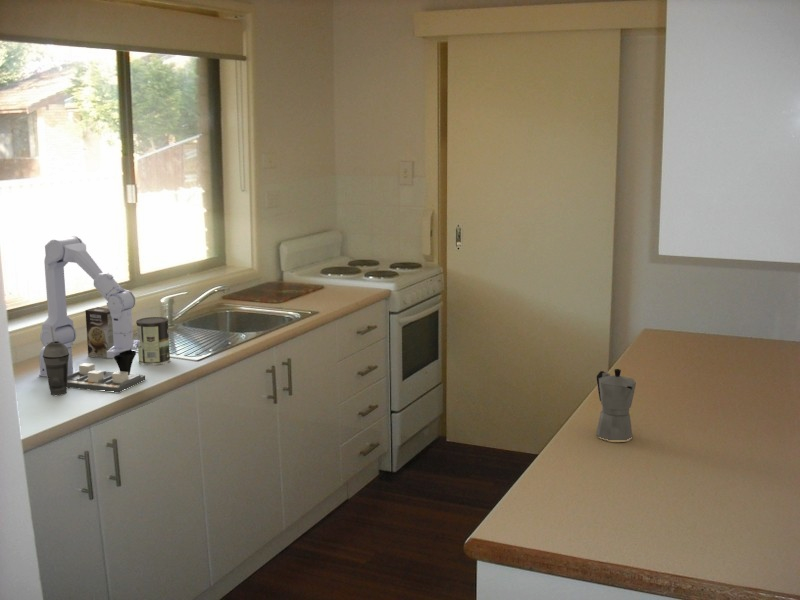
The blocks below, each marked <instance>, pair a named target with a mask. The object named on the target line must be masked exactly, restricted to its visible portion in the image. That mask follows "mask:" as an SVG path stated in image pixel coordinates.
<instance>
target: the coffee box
mask: <svg viewBox="0 0 800 600" xmlns="http://www.w3.org/2000/svg"><path fill="white" fill-rule="evenodd" d="M85 323H86V324H85V326H86V339H87V342H86V343H87V344H86V345H87V357H92V358H99V359H106V360H110V359H111V360H112V358H107V351H108V350H110V349H111V348H112V347H113V346H114V340H113V324H112V317H111V313H110V310H109V309H108V307H99V306H96V307H93V308H89V309H85Z"/></svg>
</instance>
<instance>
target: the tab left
mask: <svg viewBox="0 0 800 600" xmlns="http://www.w3.org/2000/svg"><path fill="white" fill-rule="evenodd" d="M95 365H96V364H95V363H91V362H90V363H88V362H86V363H85V362H84V363H81V364H79V365H78V370H79V374H82V375H87V374H88V372H90V371H93V370H96V366H95Z"/></svg>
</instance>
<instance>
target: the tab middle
mask: <svg viewBox="0 0 800 600" xmlns="http://www.w3.org/2000/svg"><path fill="white" fill-rule="evenodd" d="M97 370H98V369H95V370H93V371H90V372H88V382H96V383H98V381H99V380H102V379H104V371H105V370H99V371H97Z"/></svg>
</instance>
